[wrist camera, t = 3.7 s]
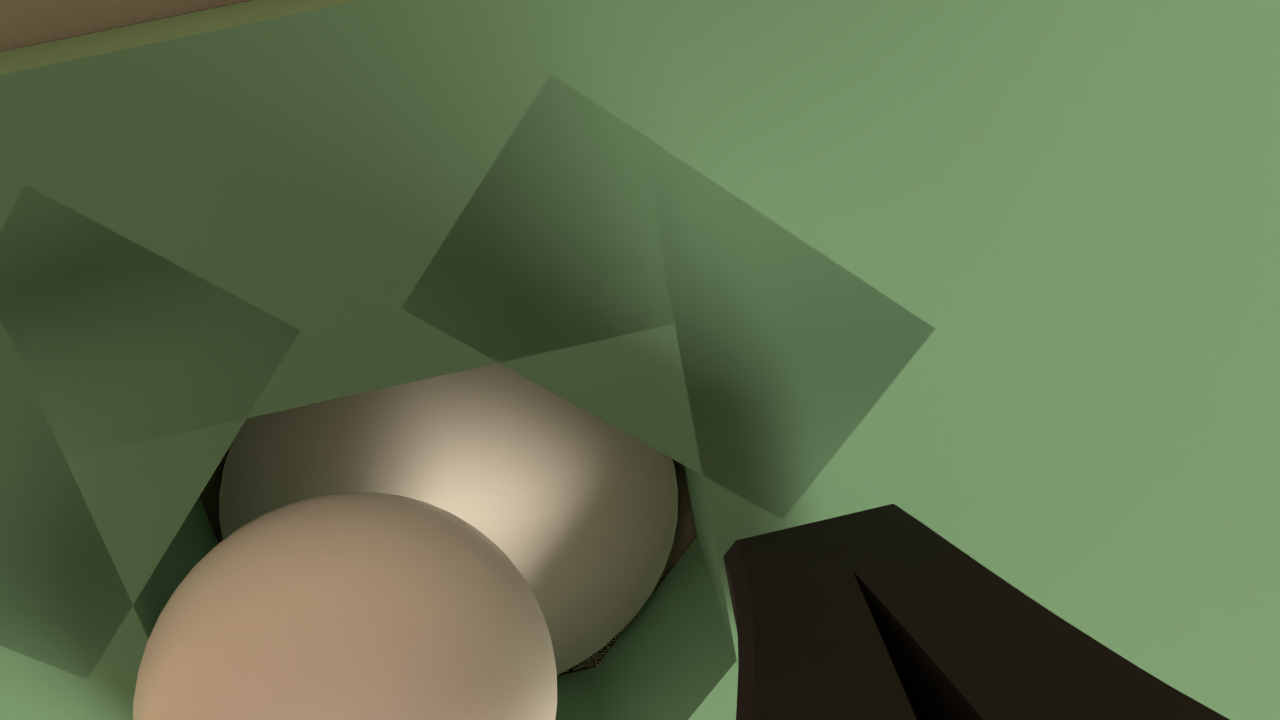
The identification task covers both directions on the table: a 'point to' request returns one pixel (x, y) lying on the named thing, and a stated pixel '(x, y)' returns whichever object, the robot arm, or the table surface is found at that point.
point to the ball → (351, 622)
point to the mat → (650, 312)
